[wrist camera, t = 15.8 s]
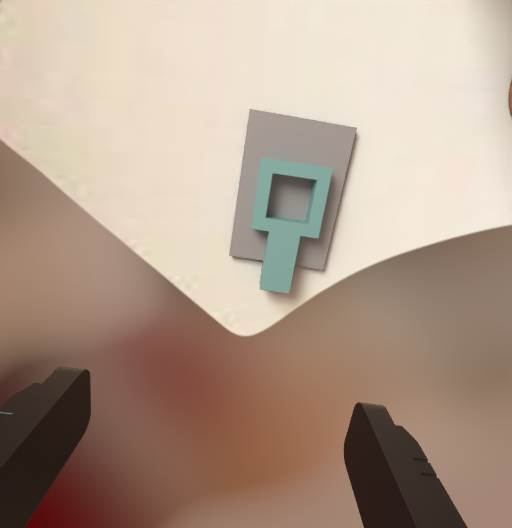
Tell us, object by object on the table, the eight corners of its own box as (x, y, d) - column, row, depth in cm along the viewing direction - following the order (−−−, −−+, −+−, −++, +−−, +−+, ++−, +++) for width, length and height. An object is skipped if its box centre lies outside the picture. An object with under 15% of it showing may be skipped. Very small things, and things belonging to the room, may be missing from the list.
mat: (250, 110, 29) (249, 108, 29) (354, 128, 30) (356, 127, 29) (229, 253, 33) (229, 255, 33) (322, 268, 34) (323, 269, 33)
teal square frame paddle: (261, 157, 30) (261, 157, 28) (328, 168, 30) (333, 168, 28) (243, 280, 34) (242, 287, 32) (303, 288, 34) (306, 295, 32)
